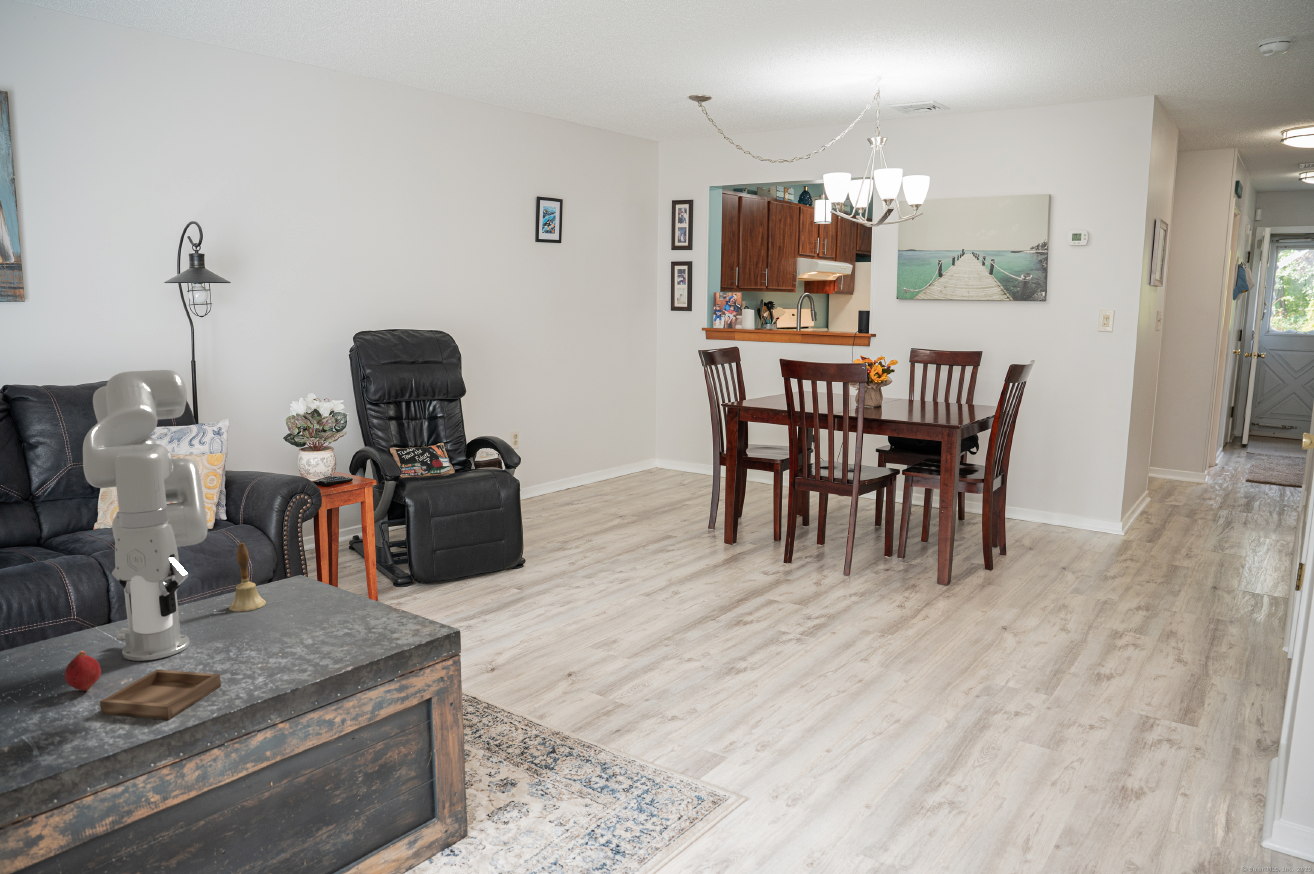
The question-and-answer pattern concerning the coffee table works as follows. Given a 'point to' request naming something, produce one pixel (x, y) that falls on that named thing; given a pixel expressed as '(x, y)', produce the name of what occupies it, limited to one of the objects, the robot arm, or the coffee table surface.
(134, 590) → the can
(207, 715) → the coffee table surface
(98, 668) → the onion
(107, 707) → the tray
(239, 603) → the hand bell
